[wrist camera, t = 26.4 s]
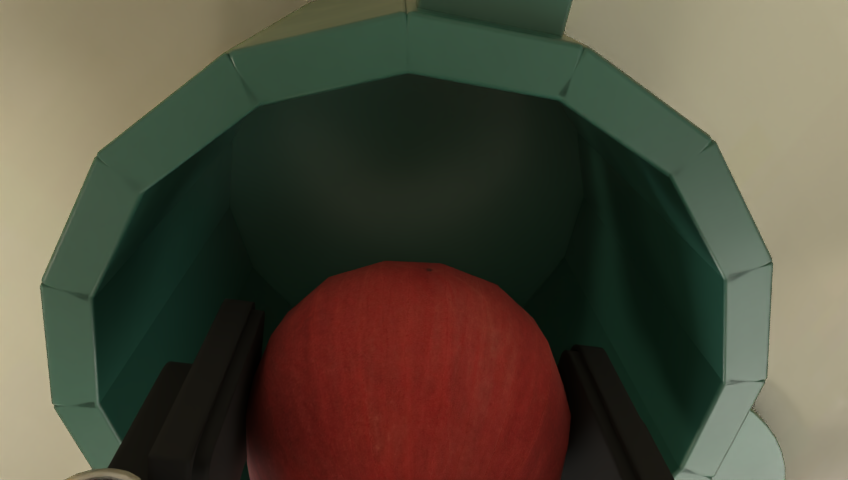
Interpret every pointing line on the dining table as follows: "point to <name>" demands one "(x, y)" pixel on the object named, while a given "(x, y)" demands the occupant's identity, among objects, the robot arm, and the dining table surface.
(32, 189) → the dining table surface
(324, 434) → the onion
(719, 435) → the green cooking pot
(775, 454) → the lid
